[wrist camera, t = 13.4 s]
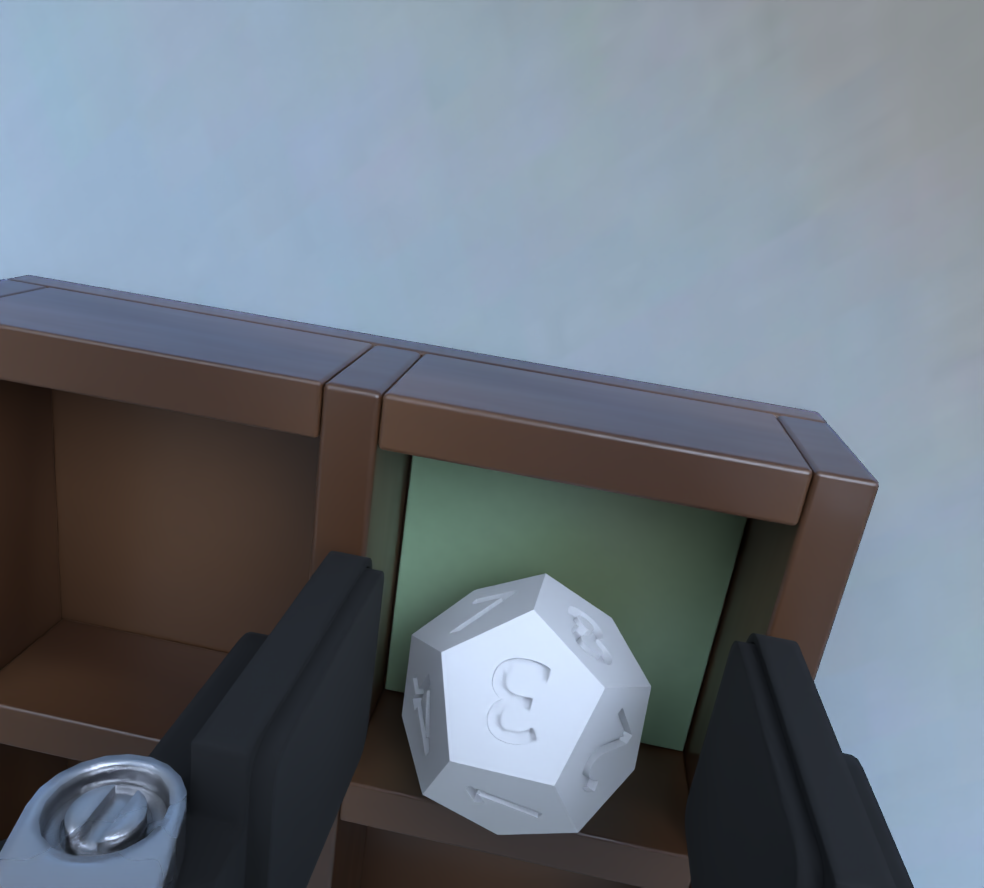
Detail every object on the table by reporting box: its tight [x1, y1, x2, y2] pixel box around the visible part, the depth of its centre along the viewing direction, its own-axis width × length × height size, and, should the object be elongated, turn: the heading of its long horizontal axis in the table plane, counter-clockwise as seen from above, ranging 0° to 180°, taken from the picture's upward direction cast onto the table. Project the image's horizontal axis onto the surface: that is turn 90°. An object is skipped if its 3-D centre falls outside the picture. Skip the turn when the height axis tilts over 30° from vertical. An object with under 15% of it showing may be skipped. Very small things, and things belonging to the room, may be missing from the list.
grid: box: [0, 275, 879, 888], centre depth 14 cm, size 13×13×3 cm
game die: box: [402, 573, 651, 835], centre depth 12 cm, size 4×4×3 cm
